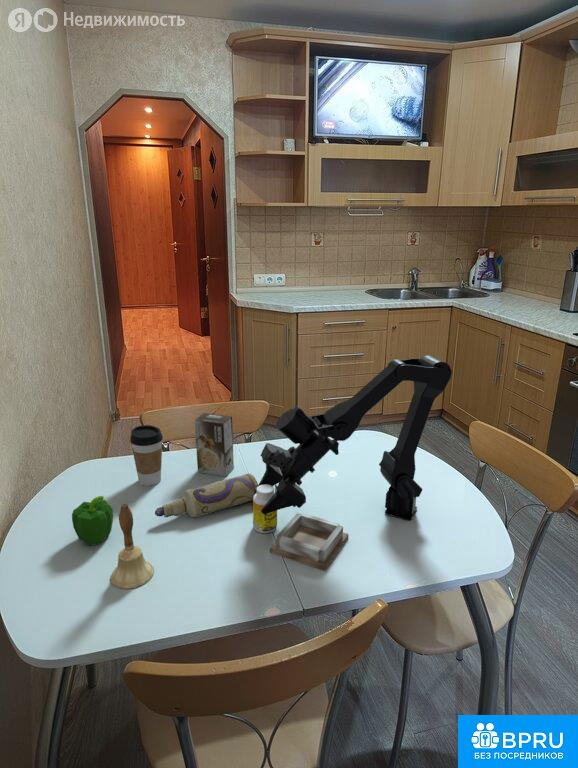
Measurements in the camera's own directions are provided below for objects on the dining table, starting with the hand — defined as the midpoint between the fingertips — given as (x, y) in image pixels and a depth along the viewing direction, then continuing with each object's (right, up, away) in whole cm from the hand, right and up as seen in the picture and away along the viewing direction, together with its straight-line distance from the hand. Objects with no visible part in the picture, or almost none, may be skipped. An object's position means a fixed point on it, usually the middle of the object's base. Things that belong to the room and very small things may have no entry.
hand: (259, 502), depth 113 cm
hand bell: (-25, -11, -14) cm, 30 cm away
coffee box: (-14, +2, +29) cm, 33 cm away
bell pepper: (-36, -8, -3) cm, 37 cm away
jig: (+11, -8, -4) cm, 15 cm away
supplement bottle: (+1, -6, +2) cm, 7 cm away
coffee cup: (-31, 0, +23) cm, 39 cm away
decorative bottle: (-13, -4, +10) cm, 17 cm away
